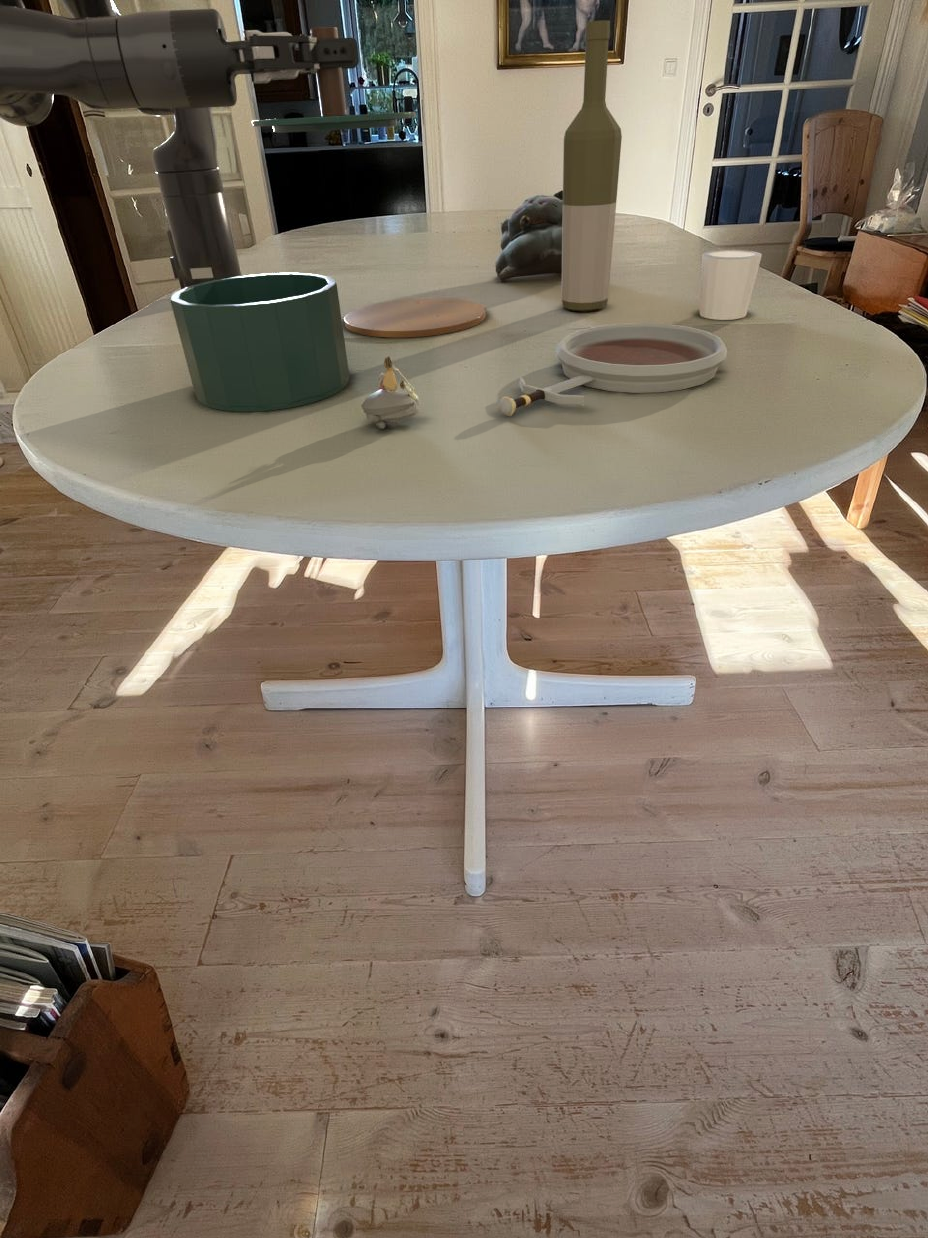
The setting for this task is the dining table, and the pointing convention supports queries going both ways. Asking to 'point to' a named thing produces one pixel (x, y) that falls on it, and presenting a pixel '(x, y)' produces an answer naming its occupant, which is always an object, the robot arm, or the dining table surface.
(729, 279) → the white cup
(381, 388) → the figurine
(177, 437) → the dining table surface
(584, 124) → the bottle
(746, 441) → the dining table surface
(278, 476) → the dining table surface
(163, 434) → the dining table surface
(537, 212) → the grey lumpy animal shape
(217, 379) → the pot
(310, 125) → the lid
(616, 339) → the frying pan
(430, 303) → the trivet
